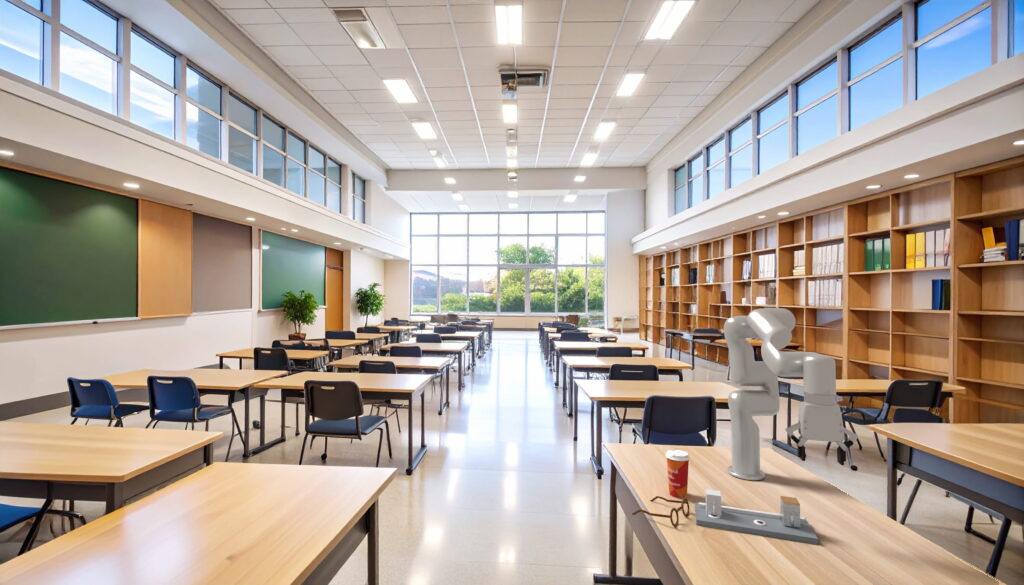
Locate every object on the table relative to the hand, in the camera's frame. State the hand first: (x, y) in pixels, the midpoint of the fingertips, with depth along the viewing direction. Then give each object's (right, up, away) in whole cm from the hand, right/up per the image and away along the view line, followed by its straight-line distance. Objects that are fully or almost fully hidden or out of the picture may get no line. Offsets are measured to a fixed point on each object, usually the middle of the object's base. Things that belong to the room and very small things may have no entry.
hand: (821, 461), depth 123 cm
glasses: (-41, -21, +12) cm, 48 cm away
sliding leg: (-7, -18, +2) cm, 20 cm away
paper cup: (-31, -21, +25) cm, 45 cm away
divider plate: (-17, -20, +5) cm, 27 cm away
